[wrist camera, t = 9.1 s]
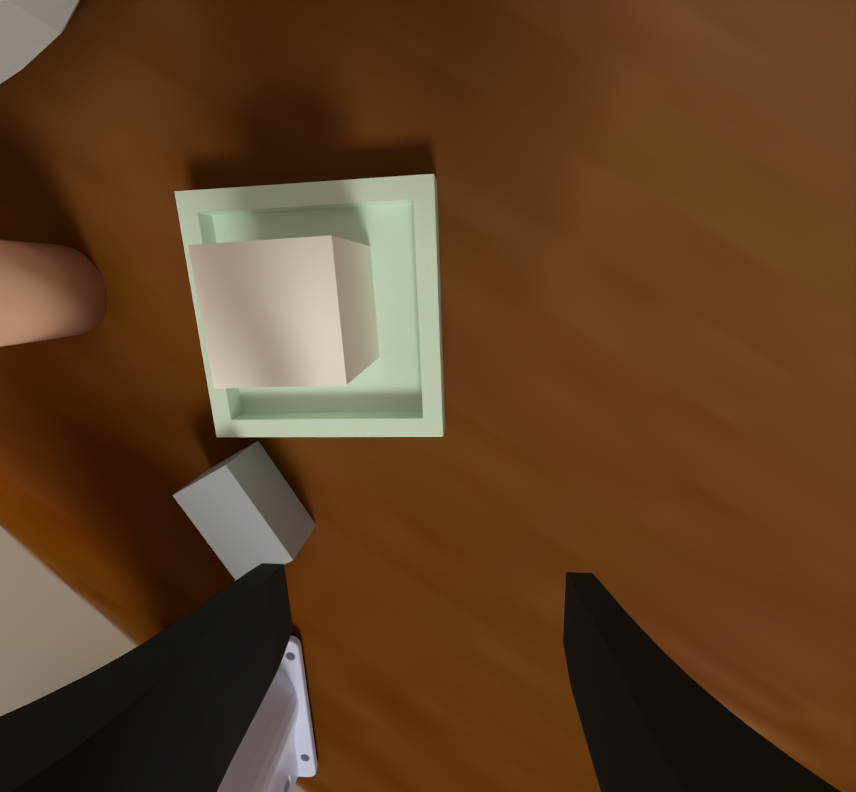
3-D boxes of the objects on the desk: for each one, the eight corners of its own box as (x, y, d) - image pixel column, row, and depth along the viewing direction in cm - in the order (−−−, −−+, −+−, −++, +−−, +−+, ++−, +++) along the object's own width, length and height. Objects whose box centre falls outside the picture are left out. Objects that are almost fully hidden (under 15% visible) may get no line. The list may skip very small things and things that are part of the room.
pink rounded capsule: (115, 334, 20) (5, 351, 16) (37, 336, 21) (-94, 354, 16) (95, 242, 19) (-29, 230, 15) (13, 246, 20) (-133, 237, 15)
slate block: (317, 523, 22) (293, 560, 19) (269, 546, 23) (240, 586, 20) (259, 439, 21) (225, 465, 18) (212, 466, 22) (172, 495, 19)
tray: (445, 425, 20) (442, 436, 19) (233, 427, 21) (216, 437, 20) (437, 181, 17) (433, 173, 16) (196, 197, 18) (174, 191, 17)
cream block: (379, 357, 19) (346, 384, 14) (278, 360, 20) (214, 388, 15) (370, 246, 18) (331, 235, 13) (263, 252, 18) (188, 244, 14)
